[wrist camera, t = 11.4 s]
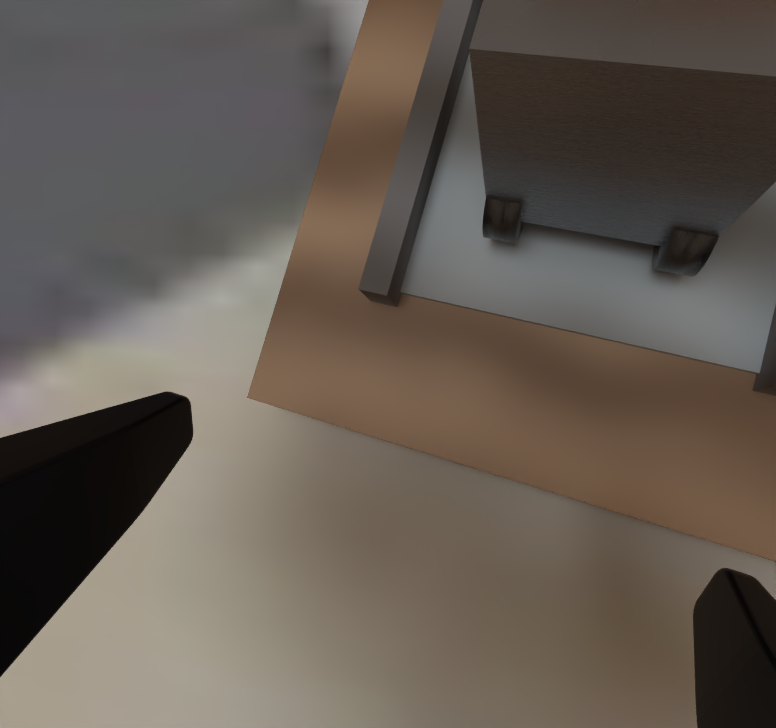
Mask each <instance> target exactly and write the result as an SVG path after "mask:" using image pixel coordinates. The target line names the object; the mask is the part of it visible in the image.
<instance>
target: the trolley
mask: <svg viewBox="0 0 776 728" xmlns="http://www.w3.org/2000/svg"><path fill="white" fill-rule="evenodd" d="M469 53H470V62H471V70H472V79H473V88H474V97H475V106H476V115H477V124H478V133H479V141H480V150H481V159H482V168H483V177H484V186H485V195H486V200H485V207H484V214H483V225H482V232H483V237H484V238H489V239H495V240H500V241H505V242H510V243H517V242H518V240H519V238H520V235H521V232H522V229H523V226H524V223H525V222H527V223H532V224H538V225H544V226H549V227H555V228H560V229H566V230H572V231H577V232H583V233H589V234H594V235H600V236H606V237H611V238H617V239H623V240H628V241H634V242H640V243H645V244H651V245H654V250H653V256H652V268H653V269H654V270H659V271H664V272H669V273H675V274H680V275H685V276H691V277H693V276H695V275H697V274H698V273H699V272H700V270H701V269H702V268H703V266H704V265H705V263H706V262H707V260H708V258H709V257H710V255H711V253H712V251H713V249H714V247H715V245H716V243H717V240H718V238H719V237H720V236H721V235H722V234H723V233H724V232H725V231H726V230H727V229H728V228H729V227H730V226H731V225H732V224H733V223H734V222H735V221H736V220H737V219H738V218H739V217H740V216H741V215H742V214H743V213H744V212H745V211H746V210H747V209H748V208H749V207H750V206H751V205H752V204H754V203H755V202H756V201H757V200H758V199H759V198H760V197H761V196H762V195H763V194H764V193H765V192H766V191H767V190H768V189H769V188H770V187H771V186H772V185H773V184H774V183H775V182H776V0H483V2H482V6H481V9H480V13H479V16H478V20H477V23H476V26H475V30H474V33H473V37H472V40H471V44H470V47H469Z"/></svg>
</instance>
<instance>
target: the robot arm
mask: <svg viewBox="0 0 776 728" xmlns="http://www.w3.org/2000/svg"><path fill="white" fill-rule="evenodd" d="M192 437H193V423H192V412H191V403H190V401H189V399H188V398H187V397H185V396H182V395H179V394H176V393H173V392H162V393H159V394H155V395H152V396H148V397H145V398H141V399H137V400H134V401H130V402H127V403H123V404H120V405H116V406H113V407H109V408H105V409H102V410H98V411H95V412H91V413H88V414H84V415H80V416H77V417H73V418H70V419H66V420H63V421H59V422H56V423H52V424H48V425H45V426H41V427H38V428H34V429H31V430H27V431H23V432H20V433H16V434H13V435H9V436H6V437H2V438H0V677H1V676H2V675H3V673H4V672H5V671H6V670H7V669H8V668H9V666H10V665H11V664H12V663H13V662H14V661H15V659H16V658H17V657H18V656H19V655H20V654H21V652H22V651H23V650H24V649H25V648H26V647H27V646H28V644H29V643H30V642H31V641H32V640H33V639H34V637H35V636H36V635H37V634H38V633H39V632H40V630H41V629H42V628H43V627H44V626H45V625H46V623H47V622H48V621H49V620H50V619H51V618H52V617H53V615H54V614H55V613H56V612H57V611H58V610H59V608H60V607H61V606H62V605H63V604H64V603H65V601H66V600H67V599H68V598H69V597H70V596H71V594H72V593H73V592H74V591H75V590H76V589H77V587H78V586H79V585H80V584H81V583H82V582H83V581H84V579H85V578H86V577H87V576H88V575H89V574H90V572H91V571H92V570H93V569H94V568H95V567H96V565H97V564H98V563H99V562H100V561H101V560H102V558H103V557H104V556H105V555H106V554H107V553H108V551H109V550H110V549H111V548H112V547H113V546H114V545H115V543H116V542H117V541H118V540H119V539H120V538H121V536H122V535H123V534H124V533H125V532H126V531H127V529H128V528H129V527H130V526H131V525H132V524H133V522H134V521H135V520H136V519H137V518H138V516H139V515H140V514H141V513H142V511H143V510H144V509H145V507H146V506H147V505H148V503H149V502H150V501H151V499H152V498H153V497H154V495H155V494H156V492H157V491H158V489H159V488H160V487H161V485H162V484H163V482H164V481H165V479H166V478H167V477H168V475H169V474H170V472H171V471H172V469H173V468H174V467H175V465H176V464H177V462H178V461H179V459H180V458H181V457H182V455H183V454H184V452H185V451H186V449H187V448H188V447H189V445H190V443H191V441H192ZM693 630H694V662H695V694H696V715H697V727H698V728H776V600H775V599H774V598H773V597H772V596H771V595H770V593H769V592H768V591H767V590H766V589H765V588H764V587H763V586H762V585H761V583H760V582H759V581H758V580H757V579H755V578H754V577H752V576H750V575H747V574H744V573H741V572H738V571H735V570H732V569H728V568H722V569H720V570H718V571H717V572H716V573H715V575H714V576H713V578H712V579H711V581H710V582H709V584H708V585H707V586H706V588H705V589H704V591H703V592H702V594H701V595H700V597H699V598H698V600H697V601H696V604H695V607H694V612H693Z"/></svg>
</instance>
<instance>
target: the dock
mask: <svg viewBox="0 0 776 728" xmlns="http://www.w3.org/2000/svg"><path fill="white" fill-rule="evenodd" d="M482 2H483V0H369V2H368V5H367V8H366V12H365V15H364V18H363V21H362V25H361V28H360V31H359V34H358V38H357V41H356V44H355V47H354V51H353V54H352V57H351V60H350V64H349V67H348V70H347V74H346V77H345V80H344V83H343V87H342V90H341V93H340V96H339V100H338V103H337V106H336V109H335V113H334V116H333V119H332V122H331V126H330V129H329V132H328V135H327V139H326V142H325V145H324V149H323V152H322V155H321V158H320V162H319V165H318V168H317V171H316V175H315V178H314V181H313V184H312V188H311V191H310V194H309V197H308V201H307V204H306V207H305V211H304V214H303V217H302V220H301V224H300V227H299V230H298V233H297V237H296V240H295V243H294V246H293V250H292V253H291V256H290V259H289V263H288V266H287V269H286V273H285V276H284V279H283V282H282V286H281V289H280V292H279V295H278V299H277V302H276V305H275V308H274V312H273V315H272V318H271V321H270V325H269V328H268V331H267V334H266V338H265V341H264V344H263V348H262V351H261V354H260V357H259V361H258V364H257V367H256V370H255V374H254V377H253V380H252V383H251V387H250V390H249V393H248V396H247V398H250V399H253V400H256V401H259V402H263V403H266V404H269V405H272V406H275V407H279V408H282V409H285V410H288V411H292V412H295V413H298V414H301V415H305V416H308V417H311V418H314V419H317V420H321V421H324V422H327V423H330V424H334V425H337V426H340V427H343V428H347V429H350V430H353V431H356V432H359V433H363V434H366V435H369V436H372V437H376V438H379V439H382V440H385V441H388V442H392V443H395V444H398V445H401V446H405V447H408V448H411V449H414V450H418V451H421V452H424V453H427V454H430V455H434V456H437V457H440V458H443V459H447V460H450V461H453V462H456V463H460V464H463V465H466V466H469V467H472V468H476V469H479V470H482V471H485V472H489V473H492V474H495V475H498V476H502V477H505V478H508V479H511V480H514V481H518V482H521V483H524V484H527V485H531V486H534V487H537V488H540V489H544V490H547V491H550V492H553V493H556V494H560V495H563V496H566V497H569V498H573V499H576V500H579V501H582V502H585V503H589V504H592V505H595V506H598V507H602V508H605V509H608V510H611V511H615V512H618V513H621V514H624V515H627V516H631V517H634V518H637V519H640V520H644V521H647V522H650V523H653V524H657V525H660V526H663V527H666V528H669V529H673V530H676V531H679V532H682V533H686V534H689V535H692V536H695V537H699V538H702V539H705V540H708V541H711V542H715V543H718V544H721V545H724V546H728V547H731V548H734V549H737V550H740V551H744V552H747V553H750V554H753V555H757V556H760V557H763V558H766V559H770V560H773V561H776V182H775V183H774V184H773V185H772V186H771V187H770V188H769V189H768V190H767V191H766V192H765V193H764V194H763V195H762V196H761V197H760V198H759V199H758V200H757V201H756V202H755V203H754V204H752V205H751V206H750V207H749V208H748V209H747V210H746V211H745V212H744V213H743V214H742V215H741V216H740V217H739V218H738V219H737V220H736V221H735V222H734V223H733V224H732V225H731V226H730V227H729V228H728V229H727V230H726V231H725V232H724V233H723V234H722V235H721V236H720V237H719V238H718V240H717V243H716V245H715V247H714V249H713V251H712V253H711V255H710V257H709V258H708V260H707V262H706V263H705V265H704V266H703V268H702V269H701V270H700V272H699V273H698V274H697V275H695V276H693V277H691V276H685V275H680V274H675V273H669V272H664V271H659V270H654V269H653V268H652V256H653V250H654V245H651V244H645V243H640V242H634V241H628V240H623V239H617V238H611V237H606V236H600V235H594V234H589V233H583V232H577V231H572V230H566V229H560V228H555V227H549V226H544V225H538V224H532V223H527V222H525V223H524V226H523V229H522V232H521V235H520V238H519V240H518V242H517V243H510V242H505V241H500V240H495V239H489V238H484V237H483V232H482V225H483V214H484V207H485V200H486V195H485V186H484V177H483V168H482V159H481V150H480V141H479V133H478V124H477V115H476V106H475V97H474V88H473V79H472V70H471V62H470V53H469V47H470V44H471V40H472V37H473V33H474V30H475V26H476V23H477V20H478V16H479V13H480V9H481V6H482Z"/></svg>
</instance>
